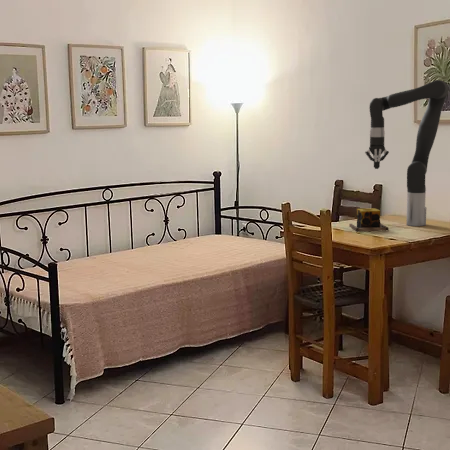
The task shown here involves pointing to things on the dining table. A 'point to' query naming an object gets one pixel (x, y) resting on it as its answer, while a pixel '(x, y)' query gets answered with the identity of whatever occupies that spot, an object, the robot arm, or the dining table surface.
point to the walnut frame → (382, 227)
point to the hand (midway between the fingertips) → (376, 168)
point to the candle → (368, 218)
